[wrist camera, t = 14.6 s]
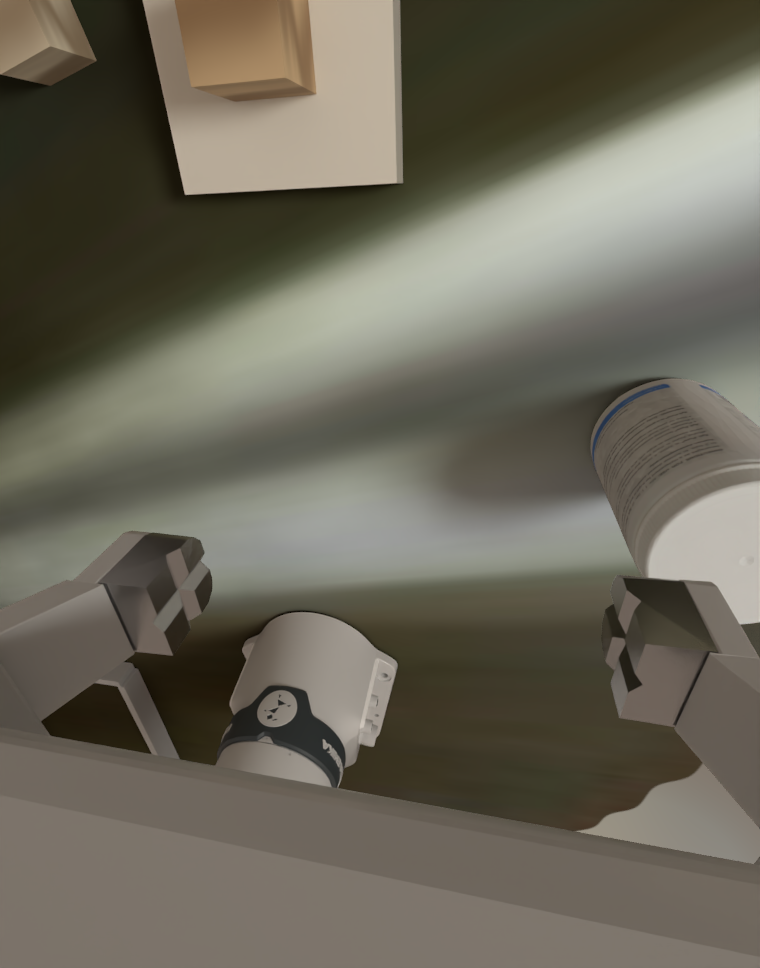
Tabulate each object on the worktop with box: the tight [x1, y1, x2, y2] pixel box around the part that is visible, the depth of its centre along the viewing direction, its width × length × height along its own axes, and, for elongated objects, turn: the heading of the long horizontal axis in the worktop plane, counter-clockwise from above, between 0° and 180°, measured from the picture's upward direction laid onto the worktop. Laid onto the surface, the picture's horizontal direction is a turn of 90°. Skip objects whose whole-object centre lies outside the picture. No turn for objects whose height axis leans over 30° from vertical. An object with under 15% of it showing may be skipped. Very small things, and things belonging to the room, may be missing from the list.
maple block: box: [0, 0, 96, 86], centre depth 29 cm, size 4×4×4 cm
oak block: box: [175, 0, 316, 102], centre depth 25 cm, size 5×5×5 cm
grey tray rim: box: [95, 662, 179, 759], centre depth 74 cm, size 28×26×3 cm
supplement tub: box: [590, 379, 760, 624], centre depth 30 cm, size 10×10×15 cm
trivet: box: [143, 0, 403, 195], centre depth 28 cm, size 14×14×2 cm
